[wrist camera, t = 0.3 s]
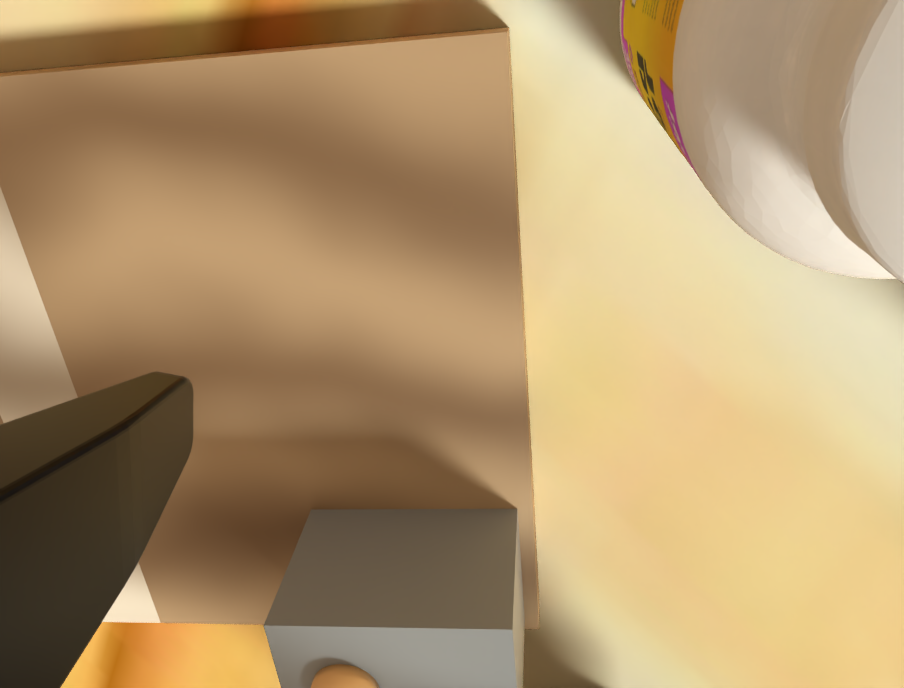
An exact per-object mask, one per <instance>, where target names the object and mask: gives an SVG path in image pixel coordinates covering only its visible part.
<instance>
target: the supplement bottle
mask: <svg viewBox="0 0 904 688" xmlns="http://www.w3.org/2000/svg"><path fill="white" fill-rule="evenodd" d="M620 38H621V45H622V50H623V54H624V58H625V62H626V65H627V68H628V71H629V73H630V76H631V78H632V80H633V82H634V85H635V86H636V88H637V90H638V92H639V93H640V95H641V97H642V99H643V100H644V102H645V103H646V105H647V106H648V107H649V109H650V110H651V111H652V113H653V114H654V116H655V117H656V118H657V120H658V121H659V123H660V124H661V126H662V127H663V128H664V130H665V131H666V132H667V134H668V135H669V137H670V138H671V140H672V141H673V142H674V144H675V145H676V147H677V148H678V149H679V151H680V152H681V153H682V155H683V156H684V157H685V158H686V160H687V161H688V163H689V164H690V165H691V167H692V168H693V169H694V171H695V172H696V174H697V175H698V177H699V178H700V180H701V181H702V183H703V184H704V186H705V187H706V189H707V190H708V191H709V192H710V194H711V195H712V196H713V198H714V199H715V200H716V202H717V203H718V204H719V206H720V207H721V208H722V209H723V210H724V211H725V212H726V213H727V215H728V216H729V217H730V218H731V219H732V220H733V221H734V222H735V223H736V224H737V225H738V226H740V227H741V228H742V229H743V230H744V231H745V232H746V233H747V234H749V235H750V236H751V237H753V238H754V239H756V240H757V241H759V242H760V243H762V244H763V245H765V246H766V247H768V248H769V249H771V250H773V251H774V252H776V253H778V254H780V255H782V256H784V257H786V258H788V259H790V260H792V261H795V262H797V263H800V264H802V265H805V266H807V267H810V268H813V269H817V270H821V271H825V272H829V273H833V274H838V275H843V276H850V277H858V278H869V279H898V280H900V281H901V282H902V283H904V0H621V2H620Z"/></svg>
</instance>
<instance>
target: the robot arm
mask: <svg viewBox="0 0 904 688" xmlns="http://www.w3.org/2000/svg"><path fill="white" fill-rule="evenodd" d="M192 444H193V386H192V382H191V381H190V380H189V379H188V378H187V377H184V376H179V375H174V374H169V373H164V372H151V373H148V374H145V375H142V376H139V377H136V378H133V379H130V380H127V381H125V382H122V383H119V384H116V385H113V386H110V387H107V388H104V389H101V390H98V391H96V392H93V393H90V394H87V395H84V396H81V397H78V398H75V399H72V400H69V401H67V402H64V403H61V404H58V405H55V406H52V407H49V408H46V409H43V410H40V411H38V412H35V413H32V414H29V415H26V416H23V417H20V418H17V419H14V420H11V421H9V422H6V423H3V424H0V688H60V687H61V686H62V684H63V683H64V681H65V679H66V678H67V676H68V675H69V673H70V672H71V670H72V668H73V667H74V665H75V664H76V662H77V661H78V659H79V657H80V656H81V654H82V653H83V651H84V649H85V648H86V646H87V645H88V643H89V642H90V640H91V638H92V637H93V635H94V634H95V632H96V630H97V629H98V627H99V626H100V624H101V623H102V621H103V619H104V618H105V616H106V615H107V613H108V611H109V610H110V608H111V607H112V605H113V604H114V602H115V600H116V599H117V597H118V596H119V594H120V593H121V591H122V589H123V588H124V586H125V584H126V583H127V581H128V579H129V578H130V576H131V574H132V573H133V571H134V569H135V568H136V566H137V564H138V562H139V560H140V558H141V556H142V554H143V552H144V550H145V548H146V546H147V544H148V542H149V540H150V538H151V535H152V533H153V531H154V529H155V527H156V525H157V523H158V521H159V519H160V517H161V515H162V513H163V510H164V508H165V506H166V504H167V502H168V500H169V498H170V496H171V494H172V492H173V490H174V488H175V485H176V483H177V481H178V479H179V477H180V475H181V473H182V471H183V469H184V467H185V465H186V463H187V460H188V458H189V455H190V453H191V449H192Z"/></svg>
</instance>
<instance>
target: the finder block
mask: <svg viewBox="0 0 904 688" xmlns="http://www.w3.org/2000/svg"><path fill="white" fill-rule="evenodd" d="M524 626H525V616H524V601H523V586H522V570H521V555H520V540H519V524H518V509H318V510H311V511H310V514H309V516H308V518H307V521H306V523H305V526H304V528H303V531H302V533H301V536H300V538H299V540H298V543H297V545H296V548H295V550H294V553H293V555H292V558H291V560H290V562H289V565H288V567H287V570H286V572H285V575H284V577H283V579H282V582H281V584H280V587H279V589H278V592H277V594H276V597H275V599H274V601H273V604H272V606H271V609H270V611H269V614H268V616H267V619H266V621H265V623H264V629H265V632H266V636H267V639H268V643H269V646H270V650H271V653H272V657H273V660H274V664H275V667H276V671H277V674H278V678H279V682H280V685H281V688H523V669H524Z"/></svg>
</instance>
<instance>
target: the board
mask: <svg viewBox="0 0 904 688" xmlns="http://www.w3.org/2000/svg"><path fill="white" fill-rule="evenodd" d="M151 372H164V373H169V374H174V375H179V376H184V377H187V378H188V379H189V380H190V381H191V382H192V386H193V444H192V449H191V453H190V455H189V458H188V460H187V463H186V465H185V467H184V469H183V471H182V473H181V475H180V477H179V479H178V481H177V483H176V485H175V488H174V490H173V492H172V494H171V496H170V498H169V500H168V502H167V504H166V506H165V508H164V510H163V513H162V515H161V517H160V519H159V521H158V523H157V525H156V527H155V529H154V531H153V533H152V535H151V538H150V540H149V542H148V544H147V546H146V548H145V550H144V552H143V554H142V556H141V558H140V560H139V562H138V564H137V566H136V568H135V569H134V571H133V573H132V574H131V576H130V578H129V579H128V581H127V583H126V584H125V586H124V588H123V589H122V591H121V593H120V594H119V596H118V597H117V599H116V600H115V602H114V604H113V605H112V607H111V608H110V610H109V611H108V613H107V615H106V616H105V618H104V619H103V621H102V622H142V623H201V624H260V625H264V623H265V621H266V619H267V616H268V614H269V611H270V609H271V606H272V604H273V601H274V599H275V597H276V594H277V592H278V589H279V587H280V584H281V582H282V579H283V577H284V575H285V572H286V570H287V567H288V565H289V562H290V560H291V558H292V555H293V553H294V550H295V548H296V545H297V543H298V540H299V538H300V536H301V533H302V531H303V528H304V526H305V523H306V521H307V518H308V516H309V514H310V511H311V510H318V509H518V524H519V540H520V555H521V570H522V586H523V601H524V616H525V626H524V629H539V588H538V569H537V550H536V531H535V512H534V493H533V474H532V455H531V436H530V417H529V398H528V379H527V360H526V341H525V322H524V303H523V284H522V265H521V246H520V227H519V208H518V188H517V169H516V150H515V131H514V112H513V93H512V74H511V55H510V36H509V27H508V28H497V29H486V30H475V31H463V32H452V33H441V34H430V35H419V36H407V37H396V38H385V39H374V40H362V41H351V42H340V43H329V44H318V45H306V46H295V47H284V48H273V49H262V50H250V51H239V52H228V53H217V54H205V55H194V56H183V57H172V58H161V59H149V60H138V61H127V62H116V63H105V64H93V65H82V66H71V67H60V68H48V69H37V70H26V71H15V72H4V73H0V424H3V423H6V422H9V421H11V420H14V419H17V418H20V417H23V416H26V415H29V414H32V413H35V412H38V411H40V410H43V409H46V408H49V407H52V406H55V405H58V404H61V403H64V402H67V401H69V400H72V399H75V398H78V397H81V396H84V395H87V394H90V393H93V392H96V391H98V390H101V389H104V388H107V387H110V386H113V385H116V384H119V383H122V382H125V381H127V380H130V379H133V378H136V377H139V376H142V375H145V374H148V373H151Z"/></svg>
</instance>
